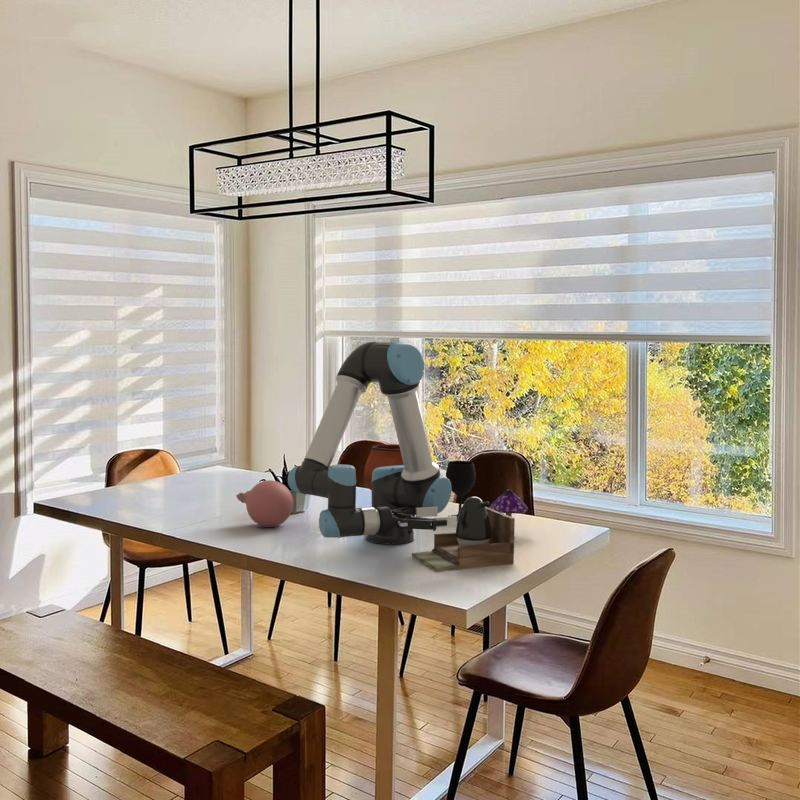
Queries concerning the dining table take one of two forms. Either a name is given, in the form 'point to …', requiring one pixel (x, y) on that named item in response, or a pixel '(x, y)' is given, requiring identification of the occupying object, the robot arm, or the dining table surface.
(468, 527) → the dark grey figurine
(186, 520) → the dining table surface
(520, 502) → the decorative mushroom
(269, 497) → the pink round body
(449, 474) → the wine glass
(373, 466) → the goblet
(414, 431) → the robot arm
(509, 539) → the brown wooden tray
